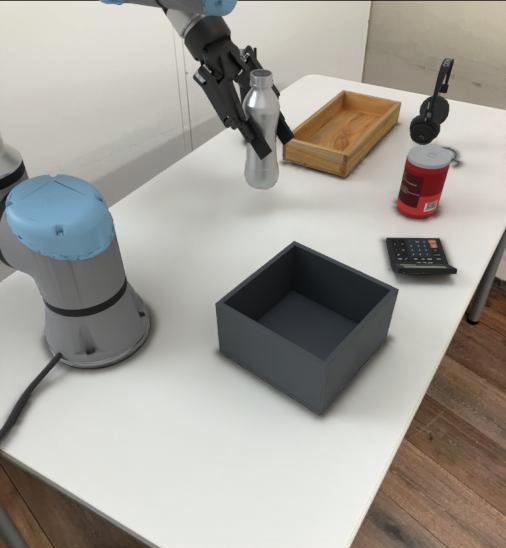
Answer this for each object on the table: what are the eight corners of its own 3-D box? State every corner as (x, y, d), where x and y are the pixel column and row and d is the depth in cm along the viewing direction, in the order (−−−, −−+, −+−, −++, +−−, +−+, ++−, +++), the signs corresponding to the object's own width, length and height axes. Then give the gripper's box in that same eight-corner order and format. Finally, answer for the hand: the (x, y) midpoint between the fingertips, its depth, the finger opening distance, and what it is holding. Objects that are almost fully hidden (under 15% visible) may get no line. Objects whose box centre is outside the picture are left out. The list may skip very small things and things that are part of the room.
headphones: (451, 182, 105) (481, 80, 91) (397, 171, 109) (418, 71, 94) (464, 150, 115) (494, 53, 100) (414, 140, 118) (436, 45, 103)
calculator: (438, 241, 92) (442, 228, 90) (452, 284, 84) (458, 270, 82) (385, 241, 92) (388, 227, 90) (395, 284, 84) (398, 269, 82)
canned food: (440, 201, 101) (455, 148, 92) (432, 223, 96) (447, 169, 88) (401, 193, 103) (413, 140, 95) (391, 214, 98) (403, 160, 90)
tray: (340, 110, 130) (343, 87, 125) (397, 124, 124) (402, 100, 120) (281, 163, 112) (282, 138, 108) (344, 181, 106) (348, 155, 102)
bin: (319, 415, 67) (325, 367, 60) (219, 352, 75) (214, 303, 67) (386, 338, 76) (399, 289, 69) (291, 289, 84) (294, 240, 77)
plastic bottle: (258, 198, 94) (258, 84, 79) (237, 183, 98) (233, 71, 83) (285, 187, 96) (290, 74, 82) (264, 172, 100) (264, 62, 86)
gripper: (225, 27, 93) (295, 138, 98) (150, 56, 82) (232, 180, 87) (248, -3, 87) (321, 118, 91) (169, 25, 76) (257, 159, 81)
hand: (278, 148), depth 89 cm, fingers closed on plastic bottle, 6 cm apart
